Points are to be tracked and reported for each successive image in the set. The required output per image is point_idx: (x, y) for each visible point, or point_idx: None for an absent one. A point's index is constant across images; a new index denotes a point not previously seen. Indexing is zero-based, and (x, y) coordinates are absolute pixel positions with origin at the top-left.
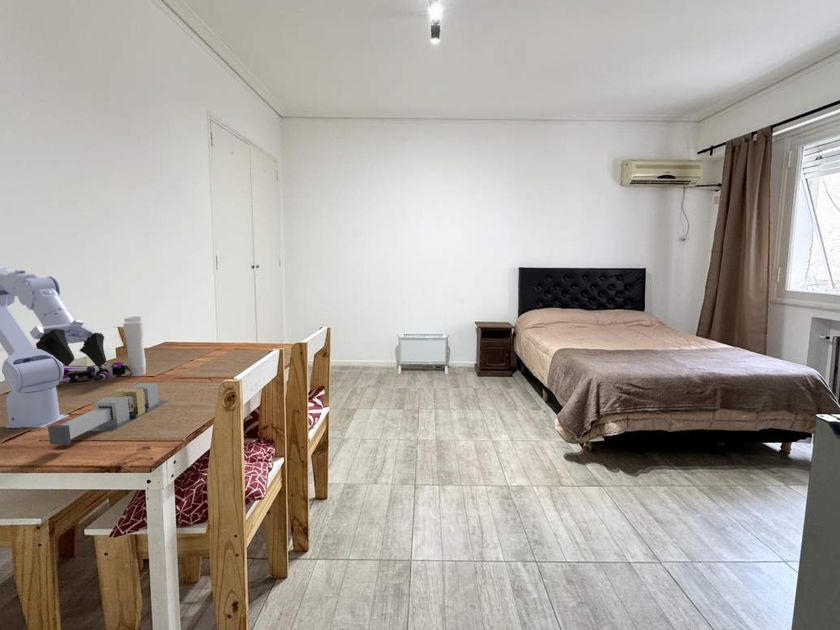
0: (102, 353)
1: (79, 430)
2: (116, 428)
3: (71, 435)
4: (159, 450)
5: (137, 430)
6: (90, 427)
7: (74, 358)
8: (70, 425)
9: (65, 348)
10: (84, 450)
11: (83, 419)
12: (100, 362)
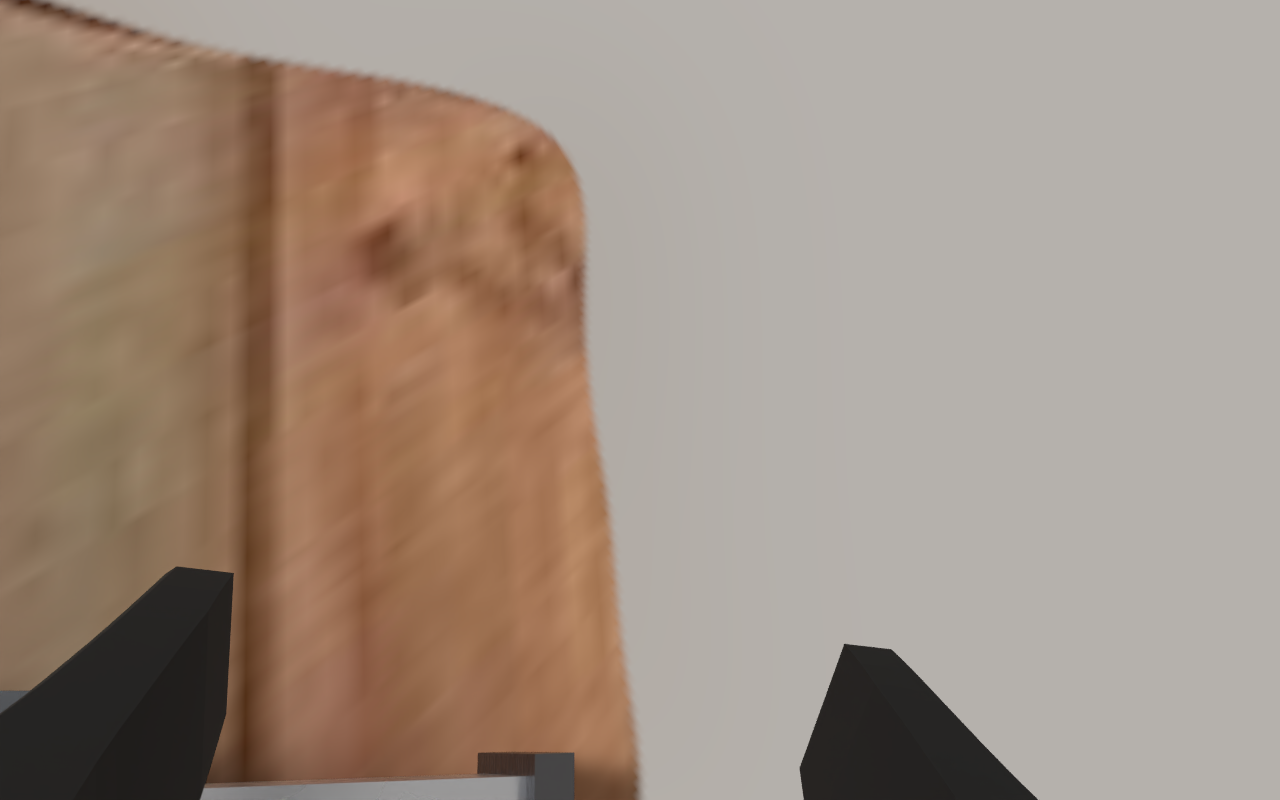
0: (155, 647)
1: (382, 778)
2: (19, 696)
3: (462, 775)
4: (418, 152)
5: (15, 501)
6: (251, 782)
7: (847, 652)
8: (480, 788)
9: (1026, 789)
10: (436, 667)
11: (332, 795)
12: (218, 665)
